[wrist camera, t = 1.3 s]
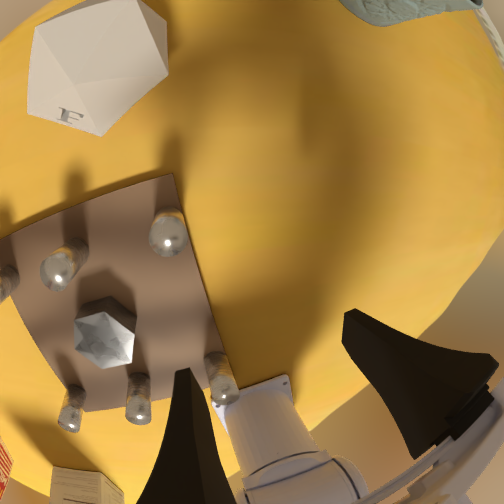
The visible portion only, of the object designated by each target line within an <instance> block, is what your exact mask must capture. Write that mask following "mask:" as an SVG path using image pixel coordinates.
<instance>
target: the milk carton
mask: <svg viewBox="0 0 504 504" xmlns="http://www.w3.org/2000/svg"><path fill="white" fill-rule="evenodd" d="M12 465H13V459H12V457H11V455H10V453H9V451H8V450H7V448H6V446H5V444H4V442H3V440H2V438H1V436H0V502H1V499H2V496H3V493H4V491H5V488H6V485H7V483H8V480H9V477H10V473H11V469H12Z"/></svg>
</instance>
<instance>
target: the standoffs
mask: <svg viewBox="0 0 504 504" xmlns="http://www.w3.org/2000/svg"><path fill="white" fill-rule="evenodd" d="M187 241H188V234H187V229H186V225H185V221H184V217H183V215H182V213H181V212H180V211H179V210H178V209H177V208H175V207H170V206H168V207H164V208H162V209H160V210H159V211H158V212H157V214H156V215H155V218H154V221H153V223H152V226H151V229H150V232H149V243H150V246H151V248H152V249H153V250H154V251H155V252H156V253H157V254H159V255H161V256H164V257H172V256H175V255H178V254H179V253H181V252H182V251H183V250H184V248H185V247H186V244H187ZM88 258H89V247H88V245H87V243H86V242H85V241H84V240H83V239H81V238H78V237H74V238H71V239H69V240H68V241H67V242H65V243H64V244H63V245H62V246H60V247H59V248H58V249H57V250H55V251H54V252H53V253H52V254H50V255H49V256H48V257H47V258H46V259H44V260H43V261H42V263H41V265H40V270H39V272H40V278H41V280H42V282H43V284H44V285H45V286H46V287H47V288H48V289H50V290H52V291H56V292H58V291H62V290H64V289H65V288H66V287H67V285H68V284H69V283H70V281H71V280H72V279H73V278H74V276H75V275H76V274H77V272H78V271H79V270H80V269H81V268H82V266H83V265H84V264H85V263H86V261H87V260H88ZM19 284H20V276H19V273H18V271H17V270H16V268H15V267H14V266H12V265H5V266H4V267H3V268H1V269H0V304H1V303H2V302H3V301H4V300H5V299H6V298H7V297H8V296H9V295H10V294H11V293H12V292H13V291H14V290H15V289H16V288H17V287H18V286H19ZM204 366H205V370H206V374H207V378H208V382H209V386H210V390H211V394H212V398H213V401H214V402H215V403H216V404H218V405H230V404H232V403H234V402H236V401H237V400H238V399H239V397H240V392H239V389H238V387H237V384H236V381H235V379H234V376H233V373H232V370H231V368H230V365H229V362H228V359H227V356H226V355H225V354H224V353H223V352H221V351H212V352H210V353H208V354H207V355H206V356H205V357H204ZM85 399H86V391H85V390H84V389H83V388H82V387H81V386H79V385H76V384H70V385H68V387H67V390H66V394H65V397H64V400H63V404H62V407H61V411H60V415H59V419H58V424H59V425H60V426H61V427H62V428H63V429H65V430H67V431H69V432H74V433H75V432H78V431H79V430H80V424H81V419H82V414H83V409H84V404H85ZM125 416H126V419H127V420H128V421H129V422H131V423H133V424H137V425H145V424H148V423H150V421H151V379H150V377H149V376H148V375H147V374H145V373H143V372H133V373H131V374H130V375H129V377H128V387H127V399H126V414H125Z"/></svg>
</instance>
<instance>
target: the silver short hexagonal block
mask: <svg viewBox="0 0 504 504" xmlns="http://www.w3.org/2000/svg"><path fill="white" fill-rule="evenodd" d="M136 323H137V316H136V315H135V314H133V313H132V312H131V311H129V310H128V309H127V308H126V307H124V306H123V305H122V304H121V303H120V302H118V301H117V300H116V299H115V298H113V297H112V296H107V297H104V298H100V299H97V300H94V301H90V302H87V303H83V304H82V306H81V308H80V309H79V311H78V313H77V315H76V317H75V319H74V348H75V350H76V351H78V352H79V353H80V354H82V355H83V356H84V357H86V358H87V359H89V360H90V361H91V362H93V363H94V364H96V365H97V366H99V367H100V368H102V369H105V368H110V367H114V366H119V365H124V364H128V363H132V355H133V347H134V339H135V331H136Z"/></svg>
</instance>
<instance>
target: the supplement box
mask: <svg viewBox="0 0 504 504" xmlns="http://www.w3.org/2000/svg"><path fill="white" fill-rule="evenodd" d="M49 504H125V503H124V493H123V492H122V491H121V490H120V489H118V488H117V487H116V486H115V485H114V484H113V483H112V482H111V481H110V480H109V479H107V478H106V477H105V476H104V475H103V474H102V473H101V472H91V471H82V470H74V469H67V468H61V467H55V466H53V471H52V479H51V488H50V502H49Z"/></svg>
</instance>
